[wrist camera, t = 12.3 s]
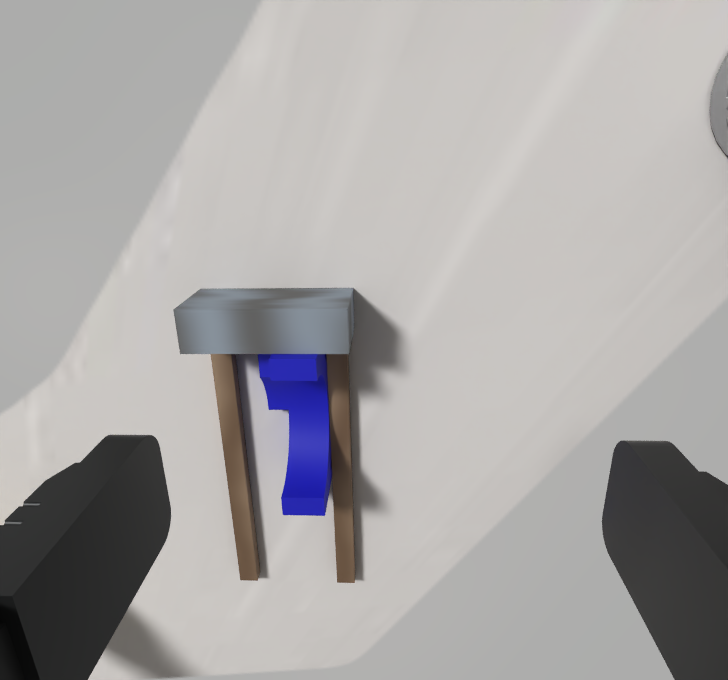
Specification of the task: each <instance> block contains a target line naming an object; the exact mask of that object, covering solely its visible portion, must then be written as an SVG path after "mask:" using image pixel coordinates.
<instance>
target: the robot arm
mask: <svg viewBox="0 0 728 680" xmlns="http://www.w3.org/2000/svg"><path fill="white" fill-rule="evenodd" d="M709 111H710V120H711V127H712V130H713V133H714V136H715V138H716V141H717V143H718V144H719V145H720V147H721V148H722V150H723V151H724V153H725V154H726V155H728V54H727V56H726V57H725V59H724V61H723V63H722V65H721V67H720V69H719V71H718V73H717V75H716V78H715V81H714V85H713V88H712V92H711V99H710V110H709ZM170 521H171V507H170V501H169V496H168V490H167V485H166V479H165V474H164V468H163V463H162V457H161V451H160V447H159V443H158V441H157V439H156V438H155V437H154V436H152V435H108V436H106V437H105V438H104V439H103V440H102V441H101V442H100V443H99V444H98V445H97V446H96V447H95V448H94V449H93V450H92V451H91V452H90V453H89V454H88V455H87V456H86V457H85V458H84V459H83V460H82V461H81V462H80V463H74V464H73V465H71V466H69V467H68V468H66V469H64V470H63V471H61V472H59V473H57V474H56V475H54V476H52V477H51V478H49V479H47V480H46V481H45V482H44V483H43V484H42V485H41V486H40V487H39V488H37V489H36V490H35V491H34V492H33V493H32V494H31V495H30V496H29V497H28V498H27V499H26V500H25V501H24V505H23V507H18V508H17V509H16V510H15V511H14V512H13V513H12V514H11V515H10V516H9V517H8V518H7V519H6V520H5V524H4V525H0V680H88V678H89V676H90V675H91V673H92V671H93V669H94V667H95V666H96V664H97V662H98V660H99V659H100V657H101V655H102V653H103V651H104V650H105V648H106V646H107V644H108V643H109V641H110V639H111V637H112V636H113V634H114V632H115V630H116V628H117V627H118V625H119V623H120V621H121V620H122V618H123V616H124V614H125V613H126V611H127V609H128V607H129V605H130V604H131V602H132V600H133V598H134V597H135V595H136V593H137V591H138V590H139V588H140V586H141V584H142V582H143V581H144V579H145V577H146V575H147V574H148V572H149V570H150V568H151V567H152V565H153V563H154V561H155V559H156V558H157V556H158V554H159V552H160V551H161V549H162V547H163V545H164V543H165V541H166V539H167V536H168V532H169V528H170ZM602 528H603V537H604V541H605V545H606V548H607V551H608V554H609V556H610V558H611V560H612V561H613V563H614V565H615V567H616V569H617V571H618V573H619V575H620V577H621V578H622V580H623V582H624V584H625V586H626V588H627V590H628V592H629V594H630V595H631V597H632V599H633V601H634V603H635V605H636V607H637V609H638V611H639V613H640V614H641V616H642V618H643V620H644V622H645V624H646V626H647V628H648V630H649V632H650V633H651V635H652V637H653V639H654V641H655V643H656V645H657V647H658V649H659V650H660V652H661V654H662V656H663V658H664V660H665V662H666V664H667V666H668V668H669V669H670V672H671V673H672V675H673V677H674V679H675V680H728V485H727V484H725V483H724V482H722V481H720V480H719V479H717V478H716V477H714V476H712V475H711V474H709V473H707V472H699V471H698V470H697V469H696V468H695V467H694V466H693V465H692V464H691V463H690V462H689V461H688V459H687V458H685V456H684V455H683V454H682V453H681V452H680V451H679V450H678V449H677V448H676V447H675V446H674V445H673V444H672V443H670V442H668V441H620V442H619V443H618V444H617V445H616V447H615V449H614V453H613V458H612V464H611V469H610V475H609V481H608V487H607V492H606V499H605V504H604V510H603V517H602Z"/></svg>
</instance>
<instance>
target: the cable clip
mask: <svg viewBox="0 0 728 680" xmlns="http://www.w3.org/2000/svg"><path fill="white" fill-rule="evenodd" d="M258 361H259V371H260V378H261V379H262V381H263V384H264V386H265V390H266V394H267V399H268V406H269V410H289V454H288V465H287V473H286V479H285V485H284V489H283V493H282V497H281V499H282V510H283V515H316V516H325V512H326V507H327V501H328V496H329V490H330V485H331V479H332V461H331V440H330V419H329V398H328V377H327V356H326V354H258Z"/></svg>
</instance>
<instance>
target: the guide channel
mask: <svg viewBox="0 0 728 680" xmlns="http://www.w3.org/2000/svg"><path fill="white" fill-rule="evenodd" d="M174 316H175V323H176V329H177V336H178V342H179V349H180V354H211V360H212V367H213V375H214V382H215V390H216V397H217V405H218V413H219V420H220V428H221V435H222V443H223V451H224V458H225V466H226V473H227V481H228V489H229V496H230V504H231V511H232V519H233V526H234V534H235V542H236V549H237V557H238V564H239V572H240V580H256V581H258V577H259V574H260V566H259V557H258V548H257V539H256V531H255V522H254V513H253V504H252V495H251V487H250V478H249V469H248V460H247V452H246V443H245V434H244V425H243V417H242V408H241V399H240V390H239V381H238V373H237V364H236V355H235V354H326V356H327V377H328V398H329V419H330V440H331V461H332V482H333V502H334V523H335V544H336V565H337V582H340V583H355V547H354V516H353V485H352V454H351V422H350V391H349V360H348V354H349V352H350V347H351V342H352V337H353V332H354V297H353V288H276V289H200V290H198V291H197V292H196V293H195V294H193V295H192V296H191V297H189V298H188V299H187V300H186V301H184V302H183V303H182V304H180V305H179V306H178V307H176V308H175V309H174Z"/></svg>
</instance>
